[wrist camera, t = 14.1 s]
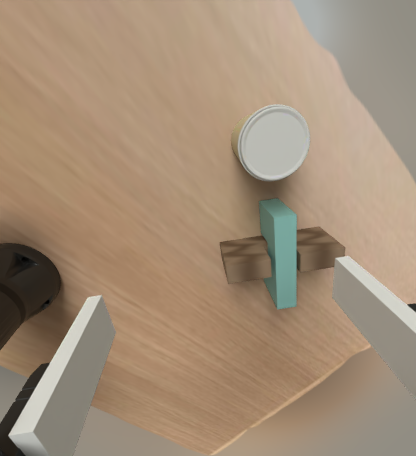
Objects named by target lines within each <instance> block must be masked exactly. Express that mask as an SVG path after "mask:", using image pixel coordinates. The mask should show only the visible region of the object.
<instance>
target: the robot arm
mask: <svg viewBox="0 0 416 456" xmlns="http://www.w3.org/2000/svg"><path fill="white" fill-rule="evenodd" d="M59 290H60V276H59V273H58V271H57V269H56V267H55V266H54V265H53V263H52V262H51V261H50V260H49V259H48V258H47V257H46V256H44V255H43V254H42V253H40V252H38V251H37V250H35V249H33V248H30V247H27V246H24V245H20V244H12V243H6V244H0V350H1V349H2V348H3V346H4V345H5V344H6V343H7V341H8V340H9V339H10V338H11V336H12V335H13V334H14V333H15V332H16V330H17V329H18V328H19V327H20V325H21V324H22V323H23V322H25V321H26V320H28V319H29V318H31V317H33V316H34V315H36V314H38V313H39V312H41V311H42V310H44V309H45V308H47V307H48V306H49V305H50V304H51V302H52V301H53V300H54V299H55V297H56V296H57V294H58V292H59ZM332 298H333V299H334V300H335V302H336V303H337V304H338V305H339V306H340V308H341V309H342V310H343V311H344V313H345V314H346V315H347V316H348V317H349V319H350V320H351V321H352V322H353V324H354V325H355V326H356V327H357V328H358V330H359V331H360V332H361V333H362V335H363V336H364V337H365V338H366V340H367V341H368V342H369V343H370V344H371V346H372V347H373V348H374V349H375V350H376V352H377V353H378V354H379V355H380V357H381V358H382V359H383V360H384V362H385V363H386V364H387V365H388V366H389V368H390V369H391V370H392V371H393V373H394V374H395V375H396V376H397V378H399V380H400V381H401V382H402V384H403V385H404V386H405V387H406V389H407V390H408V391H409V392H410V394H411V395H412V396H413V397H414V398H415V400H416V304H415V303H414V304H408V305H406V304H405V303H404V302H403V301H402V300H400V299H399V298H398V297H397V296H396V295H394V294H393V293H392V292H391V291H390V290H389V289H387V288H386V287H385V286H384V285H383V284H381V283H380V282H379V281H378V280H377V279H375V278H374V277H373V276H372V275H371V274H369V273H368V272H367V271H366V270H365V269H364V268H362V267H361V266H360V265H359V264H358V263H356V262H355V261H354V260H353V259H352V258H350V257H349V256H345V257H339V258H335V266H334V280H333V294H332ZM115 333H116V331H115V329H114V326H113V323H112V321H111V318H110V315H109V313H108V310H107V308H106V305H105V302H104V300H103V297H102V295H100V296H93V297H88V298H87V300H86V302H85V303H84V305H83V307H82V309H81V310H80V312H79V314H78V316H77V317H76V319H75V321H74V322H73V324H72V326H71V328H70V329H69V331H68V333H67V335H66V336H65V338H64V340H63V342H62V343H61V345H60V347H59V348H58V350H57V352H56V354H55V355H54V357H53V359H52V361H51V362H50V363H46V364H41V365H40V366H39V367H38V368H37V369H36V370H35V371H34V372H33V374H32V375H31V376H30V377H29V379H28V380H27V382H26V383H25V385H24V387H23V388H22V391H21V392H20V393H19V395H18V396H17V398H16V401H15V402H14V403H13V404H12V406H11V407H10V409H9V411H8V412H7V414H6V415H5V417H4V418H3V420H2V422H1V423H0V456H73V454H74V451H75V448H76V445H77V442H78V440H79V437H80V434H81V431H82V428H83V425H84V422H85V419H86V417H87V414H88V411H89V408H90V405H91V402H92V399H93V397H94V394H95V391H96V388H97V385H98V382H99V379H100V377H101V374H102V371H103V368H104V365H105V362H106V359H107V356H108V354H109V351H110V348H111V345H112V342H113V339H114V336H115Z"/></svg>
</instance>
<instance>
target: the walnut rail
mask: <svg viewBox="0 0 416 456" xmlns="http://www.w3.org/2000/svg"><path fill="white" fill-rule="evenodd" d="M220 247H221V255H222V260H223V264H224V268H225V273H226V277H227V281H228V284H230V283H237V282H243V281H249V280H256V279H262V278H268V277H272V274H271V259H270V257H269V255H268V243H267V241H266V239H265V238H264V236H257V237H250V238H244V239H238V240H231V241H225V242H220ZM344 256H345V247H344V246H343V245H342V244H340V243H339V242H338V241H337V240H335V239H334V238H333V237H332V236H330V235H329V234H328V233H327V232H325V231H324V230H323V229H322V228H320V227H314V228H307V229H301V230H297V233H296V267H297V268H298V270H299V271H300V272H306V271H312V270H318V269H325V268H331V267H334V266H335V258H339V257H344Z"/></svg>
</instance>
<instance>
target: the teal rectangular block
mask: <svg viewBox="0 0 416 456" xmlns="http://www.w3.org/2000/svg"><path fill="white" fill-rule="evenodd" d="M259 208H260V225H261V233H262V235H263V236H264V238H265V239H266V241H267V243H268V255H269V257H270V259H271V274H272V277H268V278H264V282H265V284H266V286H267V288H268V290H269V293H270V295H271V297H272V299H273V301H274V303H275V305H276V307H277V309H283V308H290V307H296V233H297V215H296V214H295V213H294V212H293V211H292V210H291V209H289V208H288V207H287V206H286V205H285V204H284V203H283V202H281V201H280V200H279V199H278V198H276V199H269V200H263V201H259Z"/></svg>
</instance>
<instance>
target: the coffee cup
mask: <svg viewBox="0 0 416 456" xmlns="http://www.w3.org/2000/svg"><path fill="white" fill-rule="evenodd" d="M231 145H232V149H233V151H234V153H235V155H236V156H237V158H238V159H239V160H240V162H241V164H242V165H243V167H244V168H245V170H246V171H247V172H248V173H249V174H250V175H252V176H253V177H255V178H257V179H260V180H263V181H277V180H281V179H284V178H286V177H288V176H290V175H291V174H292V173H294V172H295V171H296V170H297V169H298V168H299V167H300V166H301V164H302V163H303V161H304V160H305V158H306V156H307V153H308V150H309V145H310V133H309V128H308V125H307V123H306V121H305V119H304V118H303V116H302V115H301V114H300V113H299V112H298V111H296V110H295V109H293V108H291V107H289V106H286V105H277V104H276V105H269V106H266V107H263V108H261V109H259V110H258V111H256V112H254V113H252V114H250V115H248V116H246V117H244V118H243V119H241V120H240V121H239V122H238V123H237V125H236V126H235V128H234V130H233V132H232V136H231Z"/></svg>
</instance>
